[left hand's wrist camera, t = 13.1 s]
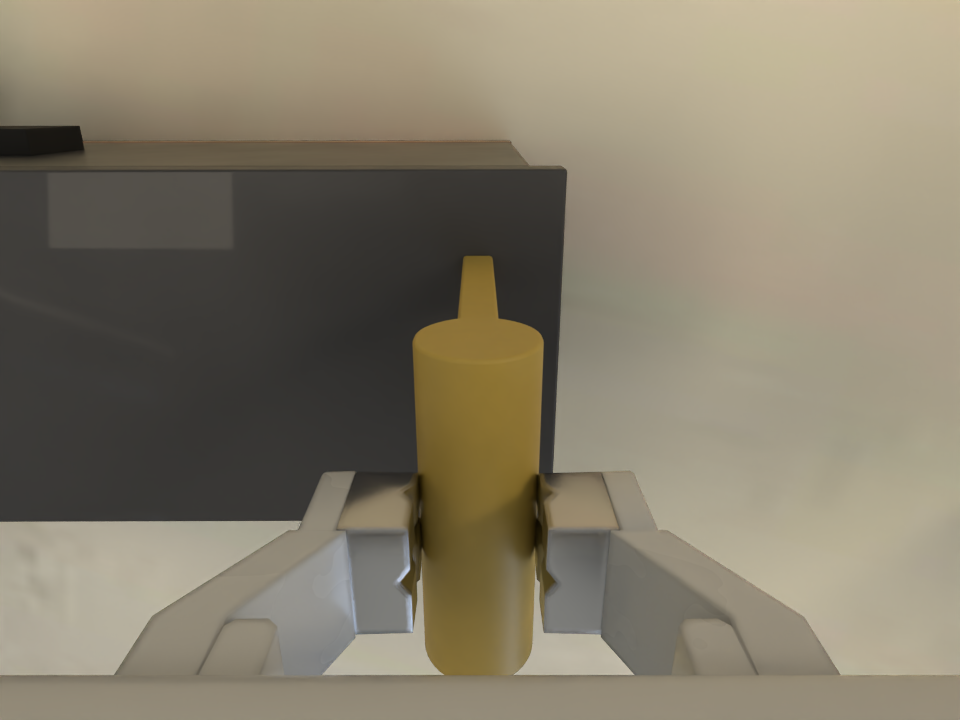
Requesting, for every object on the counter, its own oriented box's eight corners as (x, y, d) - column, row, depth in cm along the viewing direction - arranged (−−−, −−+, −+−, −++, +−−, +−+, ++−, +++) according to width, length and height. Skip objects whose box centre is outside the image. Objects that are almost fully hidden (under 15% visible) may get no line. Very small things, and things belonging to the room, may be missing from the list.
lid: (562, 165, 15) (642, 223, 8) (547, 502, 19) (593, 761, 11) (-199, 166, 15) (-837, 225, 8) (-72, 504, 19) (-431, 766, 11)
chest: (509, 140, 26) (531, 164, 15) (506, 361, 29) (522, 502, 19) (74, 141, 26) (-197, 166, 15) (123, 362, 29) (-71, 503, 19)
